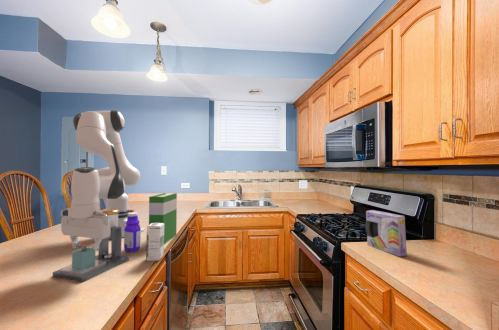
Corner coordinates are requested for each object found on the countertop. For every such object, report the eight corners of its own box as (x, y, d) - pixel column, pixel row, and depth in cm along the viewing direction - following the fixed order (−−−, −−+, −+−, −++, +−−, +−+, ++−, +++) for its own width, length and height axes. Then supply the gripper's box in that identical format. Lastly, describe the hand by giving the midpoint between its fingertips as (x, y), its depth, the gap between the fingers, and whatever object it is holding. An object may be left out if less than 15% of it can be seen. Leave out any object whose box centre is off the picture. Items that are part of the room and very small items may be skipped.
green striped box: (163, 234, 135) (164, 193, 136) (176, 235, 135) (176, 193, 135) (148, 244, 118) (149, 196, 118) (163, 245, 117) (163, 196, 118)
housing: (85, 261, 90) (85, 243, 90) (95, 263, 88) (95, 244, 88) (71, 267, 85) (72, 247, 85) (82, 268, 83) (82, 249, 83)
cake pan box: (364, 244, 120) (364, 209, 120) (372, 243, 121) (372, 209, 121) (398, 257, 101) (398, 216, 102) (407, 256, 103) (407, 216, 103)
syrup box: (150, 256, 102) (150, 222, 103) (164, 255, 103) (164, 222, 103) (145, 261, 97) (146, 226, 97) (160, 260, 97) (160, 225, 97)
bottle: (142, 249, 111) (143, 212, 111) (132, 253, 106) (132, 214, 106) (132, 247, 114) (132, 211, 114) (121, 251, 109) (121, 213, 109)
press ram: (110, 237, 101) (111, 208, 101) (122, 238, 99) (122, 209, 99) (97, 241, 95) (97, 211, 95) (109, 243, 93) (109, 212, 93)
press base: (103, 256, 102) (103, 224, 102) (129, 260, 98) (129, 226, 98) (52, 276, 83) (53, 236, 83) (81, 282, 79) (82, 240, 79)
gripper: (115, 211, 87) (115, 248, 87) (74, 208, 93) (74, 243, 93) (99, 214, 81) (99, 254, 81) (57, 211, 87) (57, 248, 87)
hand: (85, 248), depth 87 cm, fingers open, 8 cm apart
